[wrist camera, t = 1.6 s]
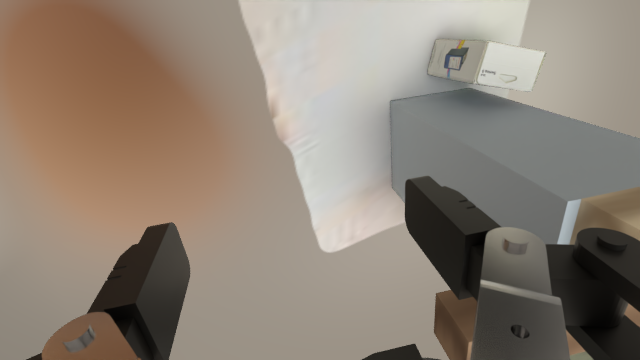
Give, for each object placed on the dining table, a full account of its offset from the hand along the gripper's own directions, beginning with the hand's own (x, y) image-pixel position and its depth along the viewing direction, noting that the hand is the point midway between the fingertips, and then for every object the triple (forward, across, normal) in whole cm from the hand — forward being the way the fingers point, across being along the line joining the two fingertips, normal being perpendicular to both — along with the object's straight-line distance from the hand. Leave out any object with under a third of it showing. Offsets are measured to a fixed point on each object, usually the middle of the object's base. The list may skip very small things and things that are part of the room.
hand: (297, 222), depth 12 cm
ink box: (+38, -28, +2) cm, 48 cm away
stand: (+38, -24, +14) cm, 47 cm away
